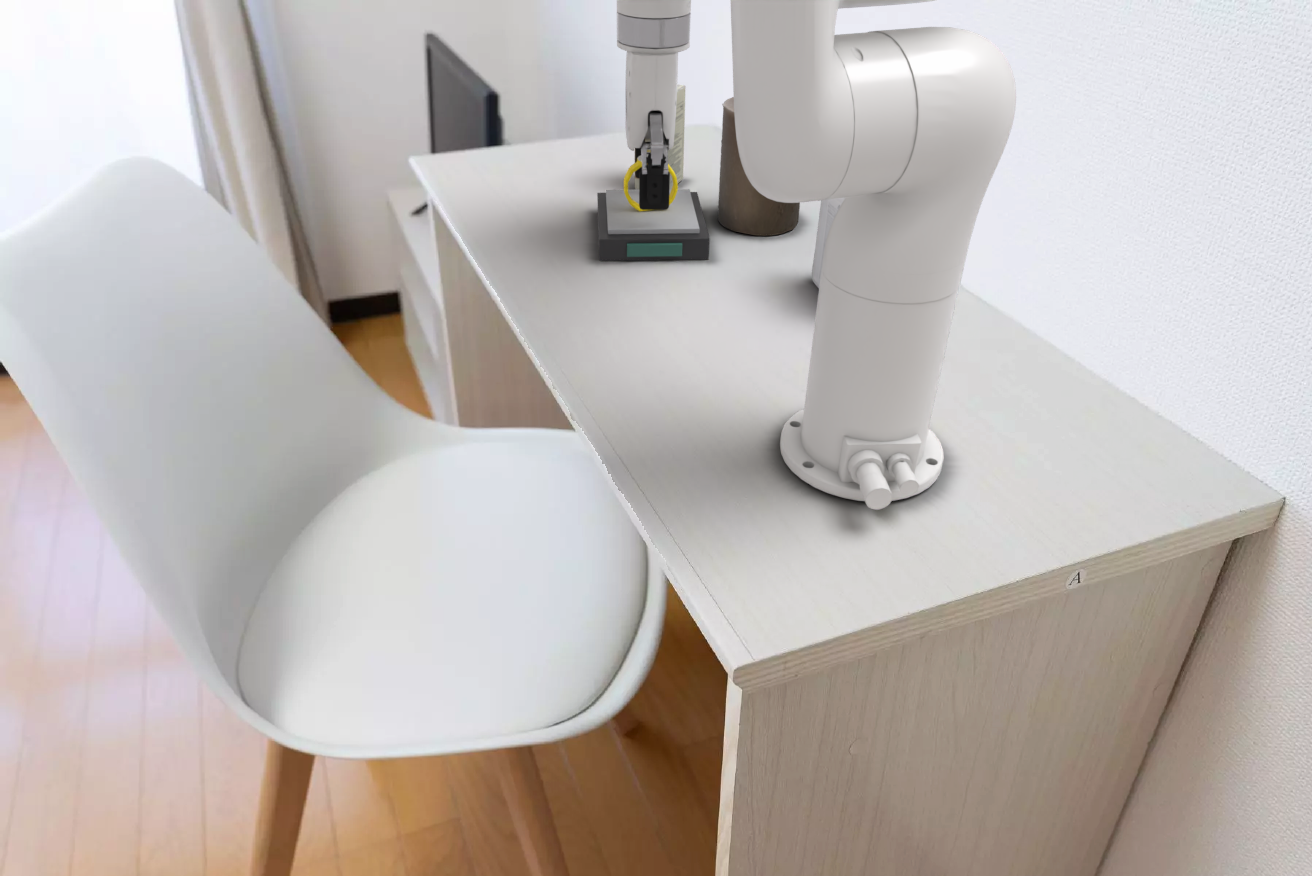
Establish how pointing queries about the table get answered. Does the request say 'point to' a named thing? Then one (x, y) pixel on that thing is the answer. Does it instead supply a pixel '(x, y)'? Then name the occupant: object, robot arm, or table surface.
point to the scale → (651, 228)
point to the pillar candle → (747, 191)
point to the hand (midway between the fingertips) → (651, 192)
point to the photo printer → (824, 234)
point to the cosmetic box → (676, 140)
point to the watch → (636, 167)
